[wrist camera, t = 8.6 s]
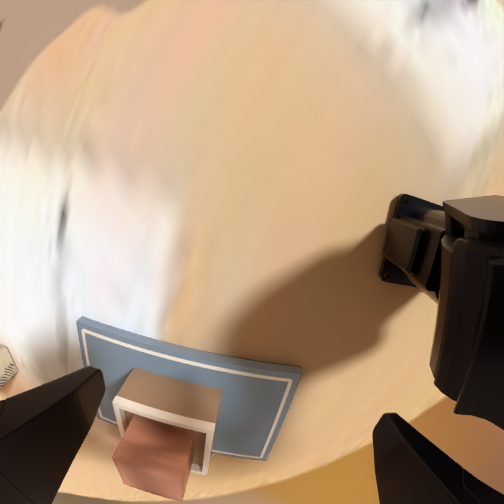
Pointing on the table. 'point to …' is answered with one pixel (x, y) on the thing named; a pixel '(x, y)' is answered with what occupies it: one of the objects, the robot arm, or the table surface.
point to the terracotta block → (155, 457)
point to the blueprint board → (238, 389)
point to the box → (6, 366)
